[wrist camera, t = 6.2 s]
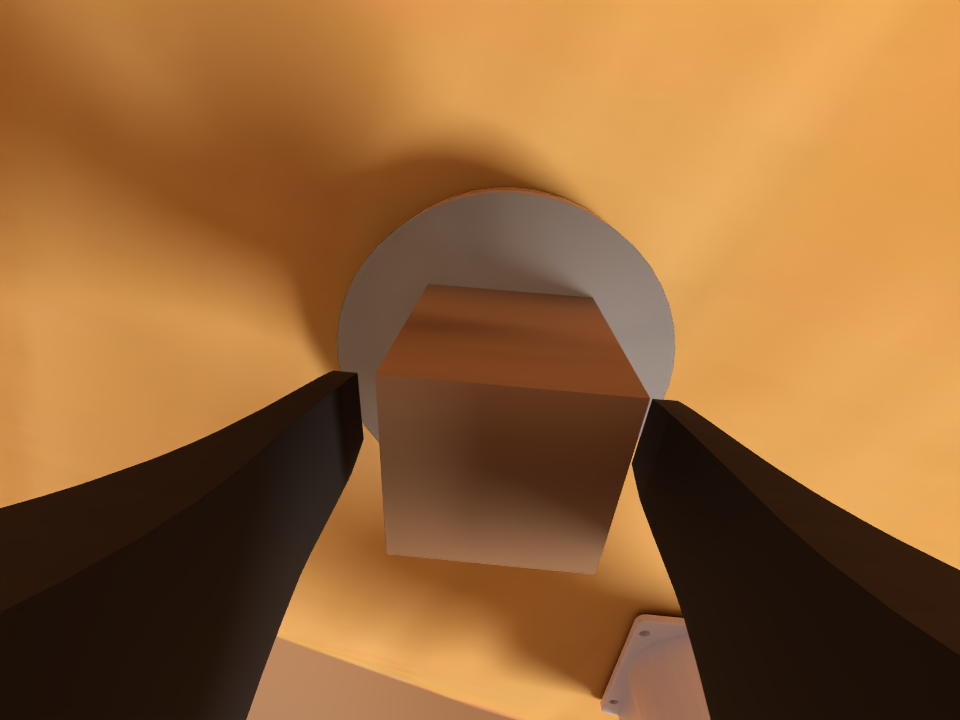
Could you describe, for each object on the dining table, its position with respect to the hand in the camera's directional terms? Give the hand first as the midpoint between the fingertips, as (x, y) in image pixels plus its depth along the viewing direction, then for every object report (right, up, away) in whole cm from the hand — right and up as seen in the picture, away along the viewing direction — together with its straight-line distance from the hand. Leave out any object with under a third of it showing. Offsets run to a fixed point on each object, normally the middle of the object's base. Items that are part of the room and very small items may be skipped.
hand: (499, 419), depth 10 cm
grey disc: (0, +2, +4) cm, 4 cm away
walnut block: (0, +1, +2) cm, 2 cm away
